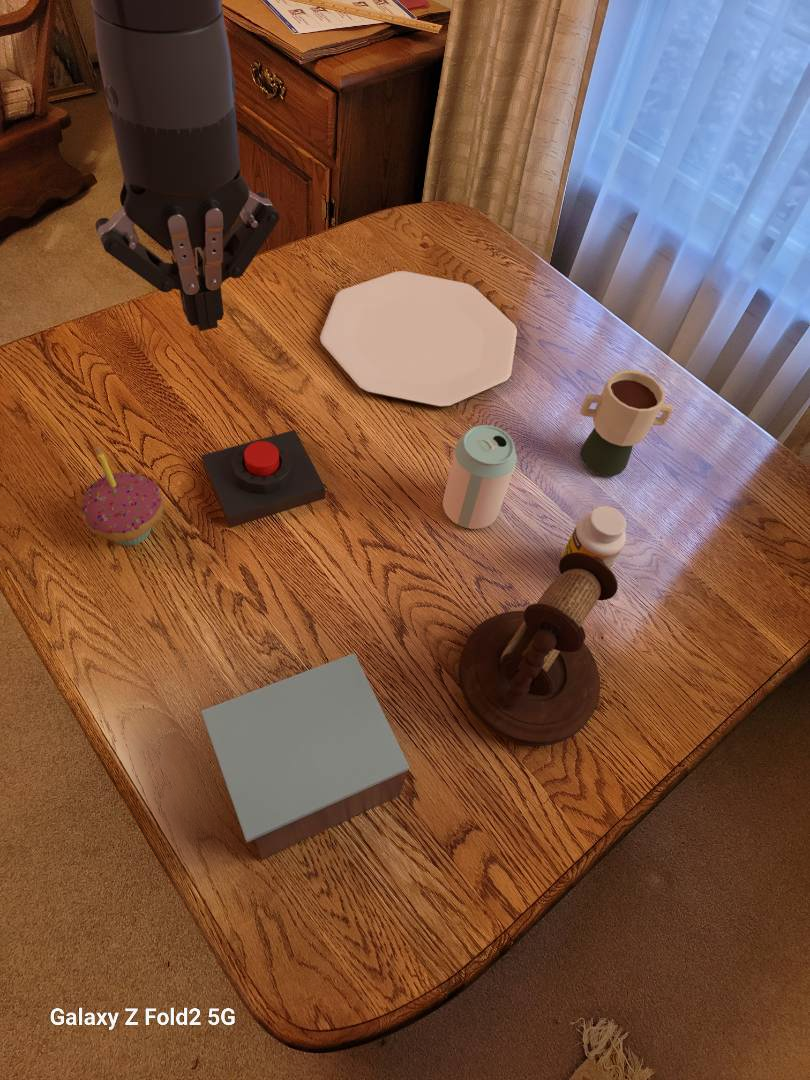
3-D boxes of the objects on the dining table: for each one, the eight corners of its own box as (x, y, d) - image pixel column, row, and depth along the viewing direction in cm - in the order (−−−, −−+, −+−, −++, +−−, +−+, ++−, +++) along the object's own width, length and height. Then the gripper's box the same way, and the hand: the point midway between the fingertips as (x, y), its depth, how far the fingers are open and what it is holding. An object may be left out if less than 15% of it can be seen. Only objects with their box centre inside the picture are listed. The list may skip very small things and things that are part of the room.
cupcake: (77, 523, 85) (47, 453, 75) (144, 488, 89) (123, 417, 79) (117, 573, 82) (90, 507, 72) (184, 534, 85) (167, 466, 76)
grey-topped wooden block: (246, 842, 59) (245, 840, 59) (201, 714, 65) (200, 710, 64) (408, 770, 64) (409, 767, 64) (354, 656, 70) (354, 652, 69)
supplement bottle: (548, 560, 89) (573, 508, 80) (585, 545, 90) (613, 492, 82) (575, 597, 86) (603, 547, 78) (612, 580, 88) (644, 530, 79)
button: (251, 480, 86) (250, 470, 85) (240, 456, 88) (239, 446, 87) (284, 471, 88) (283, 461, 86) (272, 447, 90) (271, 437, 88)
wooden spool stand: (501, 598, 85) (546, 489, 68) (615, 671, 81) (692, 574, 65) (429, 694, 77) (460, 597, 61) (552, 780, 73) (620, 701, 57)
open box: (261, 860, 66) (256, 839, 60) (220, 743, 72) (211, 712, 66) (399, 796, 71) (408, 770, 65) (350, 690, 77) (354, 656, 70)
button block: (229, 528, 87) (226, 507, 83) (203, 467, 91) (199, 445, 88) (325, 498, 90) (325, 477, 87) (295, 441, 95) (294, 419, 92)
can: (453, 479, 94) (469, 412, 84) (505, 499, 93) (528, 433, 83) (433, 519, 90) (448, 453, 81) (487, 540, 89) (509, 476, 80)
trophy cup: (638, 446, 101) (676, 374, 90) (644, 487, 97) (685, 416, 86) (559, 436, 100) (589, 363, 90) (562, 477, 96) (593, 405, 86)
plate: (303, 385, 101) (303, 377, 100) (348, 267, 117) (349, 259, 116) (502, 426, 101) (504, 418, 99) (520, 302, 116) (522, 294, 115)
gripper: (254, 54, 49) (267, 279, 63) (43, 75, 45) (108, 311, 59) (296, 109, 45) (300, 335, 59) (71, 137, 41) (132, 373, 55)
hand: (204, 323), depth 59 cm, fingers closed
